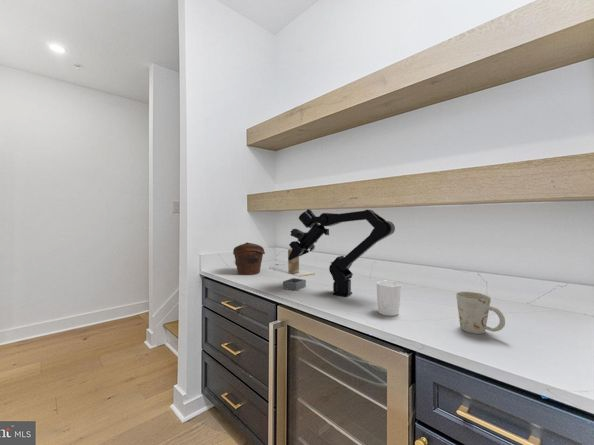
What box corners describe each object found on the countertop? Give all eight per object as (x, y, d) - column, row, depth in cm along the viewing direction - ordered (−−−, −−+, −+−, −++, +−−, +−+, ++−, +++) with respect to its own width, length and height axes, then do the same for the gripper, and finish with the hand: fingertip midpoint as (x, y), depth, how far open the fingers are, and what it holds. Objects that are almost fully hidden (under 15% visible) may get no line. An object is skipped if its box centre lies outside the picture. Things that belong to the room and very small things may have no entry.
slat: (299, 272, 128) (298, 249, 128) (293, 274, 125) (293, 250, 124) (293, 272, 130) (293, 248, 130) (288, 273, 126) (288, 249, 126)
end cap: (305, 286, 129) (305, 279, 129) (296, 290, 122) (296, 283, 122) (293, 284, 133) (293, 277, 133) (282, 288, 126) (282, 281, 126)
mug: (466, 322, 85) (466, 290, 85) (513, 338, 74) (514, 301, 74) (449, 327, 81) (450, 293, 81) (497, 344, 70) (497, 305, 70)
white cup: (378, 316, 91) (378, 285, 91) (374, 308, 98) (375, 280, 98) (403, 317, 90) (403, 286, 89) (397, 309, 97) (398, 281, 97)
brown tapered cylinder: (249, 268, 175) (249, 240, 174) (271, 272, 162) (271, 242, 161) (225, 273, 161) (225, 242, 161) (247, 278, 148) (247, 244, 148)
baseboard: (297, 278, 150) (314, 275, 158) (297, 272, 150) (314, 270, 157) (268, 269, 175) (284, 267, 182) (268, 265, 175) (284, 263, 182)
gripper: (308, 222, 134) (287, 244, 139) (293, 222, 117) (270, 248, 121) (324, 238, 131) (302, 261, 136) (311, 241, 114) (286, 267, 118)
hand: (290, 258), depth 128 cm, fingers closed on slat, 5 cm apart
